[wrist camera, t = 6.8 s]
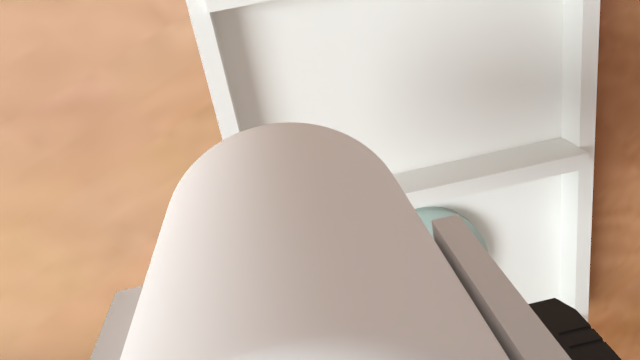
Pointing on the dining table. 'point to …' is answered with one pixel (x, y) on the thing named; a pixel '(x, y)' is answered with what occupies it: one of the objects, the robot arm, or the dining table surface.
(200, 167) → the beverage can
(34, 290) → the dining table surface
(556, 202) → the divided white tray
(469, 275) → the robot arm
